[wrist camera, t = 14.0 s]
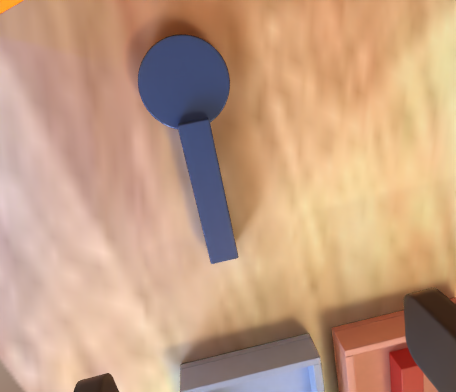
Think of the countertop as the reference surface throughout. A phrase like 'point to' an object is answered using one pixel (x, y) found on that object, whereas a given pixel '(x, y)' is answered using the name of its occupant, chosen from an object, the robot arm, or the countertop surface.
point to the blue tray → (258, 369)
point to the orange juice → (7, 4)
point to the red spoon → (405, 372)
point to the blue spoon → (193, 123)
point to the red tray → (370, 353)
